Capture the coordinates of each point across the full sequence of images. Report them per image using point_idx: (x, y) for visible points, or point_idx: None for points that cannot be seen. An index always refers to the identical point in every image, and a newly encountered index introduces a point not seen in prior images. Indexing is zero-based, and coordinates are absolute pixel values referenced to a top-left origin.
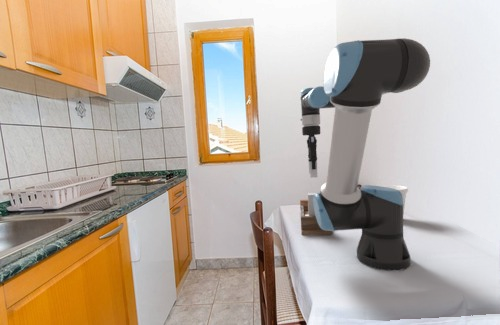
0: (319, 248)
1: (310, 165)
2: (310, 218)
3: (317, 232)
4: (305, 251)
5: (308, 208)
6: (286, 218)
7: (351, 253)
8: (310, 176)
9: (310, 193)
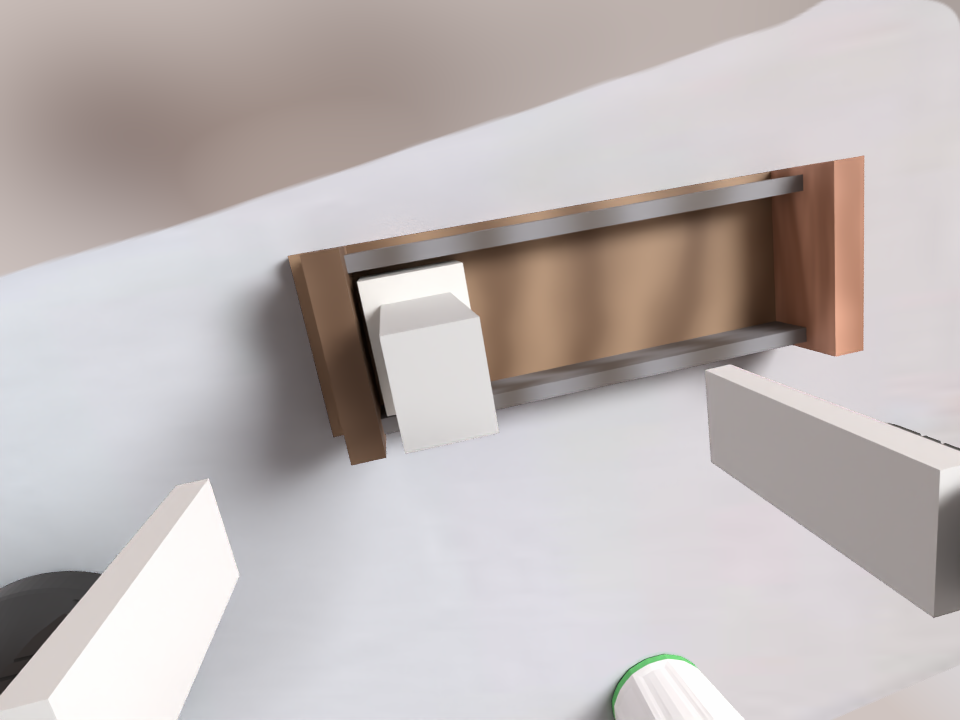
0: (99, 390)
1: (61, 635)
2: (319, 327)
3: (314, 356)
4: (22, 322)
5: (426, 304)
6: (620, 82)
7: (93, 545)
8: (200, 485)
9: (463, 348)
